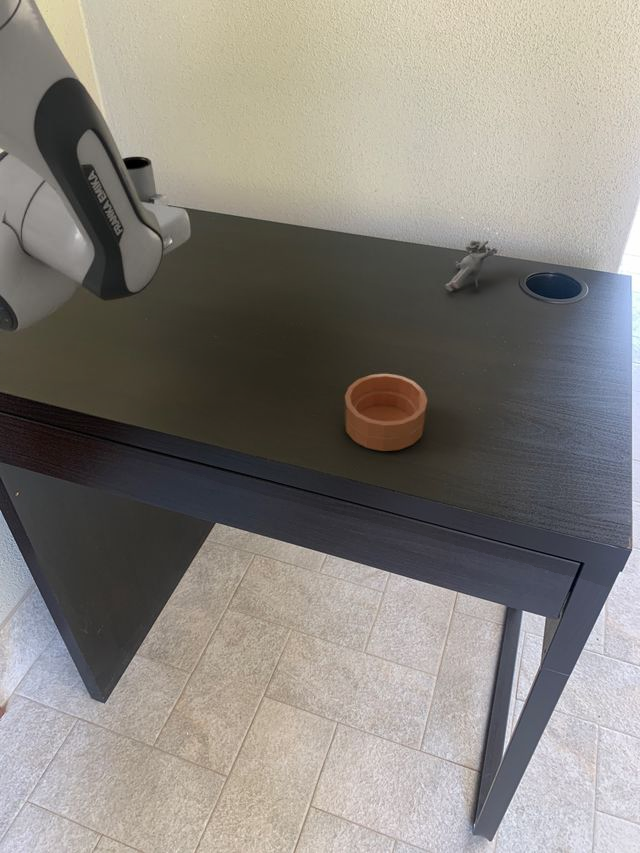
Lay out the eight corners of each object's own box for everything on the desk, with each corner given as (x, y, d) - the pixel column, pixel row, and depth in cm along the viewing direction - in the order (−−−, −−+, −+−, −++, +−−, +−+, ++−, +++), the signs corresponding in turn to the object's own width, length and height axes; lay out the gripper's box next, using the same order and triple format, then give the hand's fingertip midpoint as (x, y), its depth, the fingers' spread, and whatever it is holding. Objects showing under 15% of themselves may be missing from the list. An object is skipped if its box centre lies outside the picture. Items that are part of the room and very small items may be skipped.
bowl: (394, 466, 75) (396, 436, 72) (329, 432, 80) (328, 402, 77) (438, 423, 81) (442, 393, 78) (374, 393, 85) (376, 364, 82)
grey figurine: (421, 281, 106) (453, 243, 109) (445, 309, 108) (477, 270, 111) (458, 264, 97) (492, 223, 100) (484, 295, 99) (517, 254, 101)
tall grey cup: (123, 242, 92) (107, 166, 86) (141, 229, 95) (128, 154, 89) (152, 248, 91) (138, 171, 84) (170, 234, 94) (158, 158, 87)
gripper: (151, 229, 76) (210, 183, 85) (2, 203, 81) (73, 163, 91) (160, 280, 80) (215, 231, 89) (18, 252, 85) (84, 208, 95)
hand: (143, 196), depth 90 cm, fingers closed on tall grey cup, 4 cm apart
